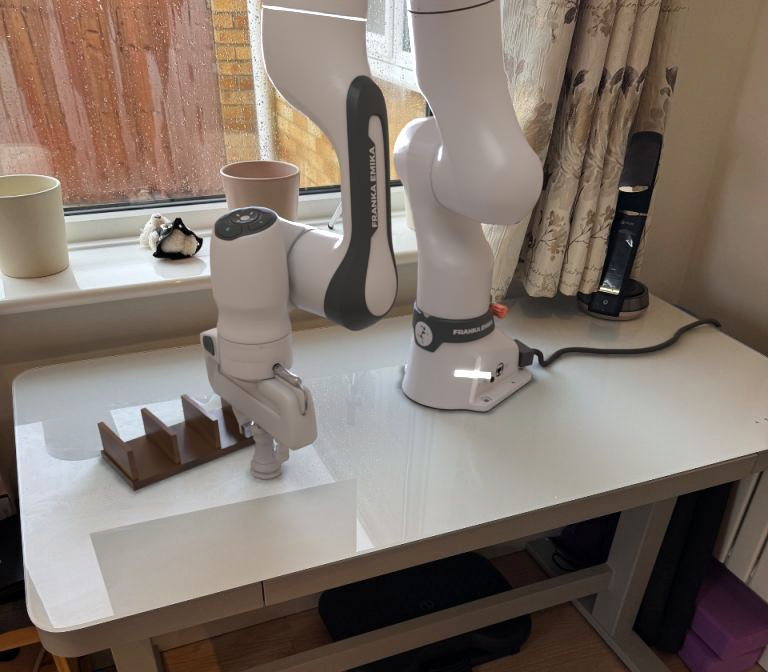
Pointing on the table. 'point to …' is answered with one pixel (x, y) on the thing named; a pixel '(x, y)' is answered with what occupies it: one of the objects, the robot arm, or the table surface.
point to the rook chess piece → (264, 455)
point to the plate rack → (173, 443)
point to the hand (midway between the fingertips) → (264, 446)
